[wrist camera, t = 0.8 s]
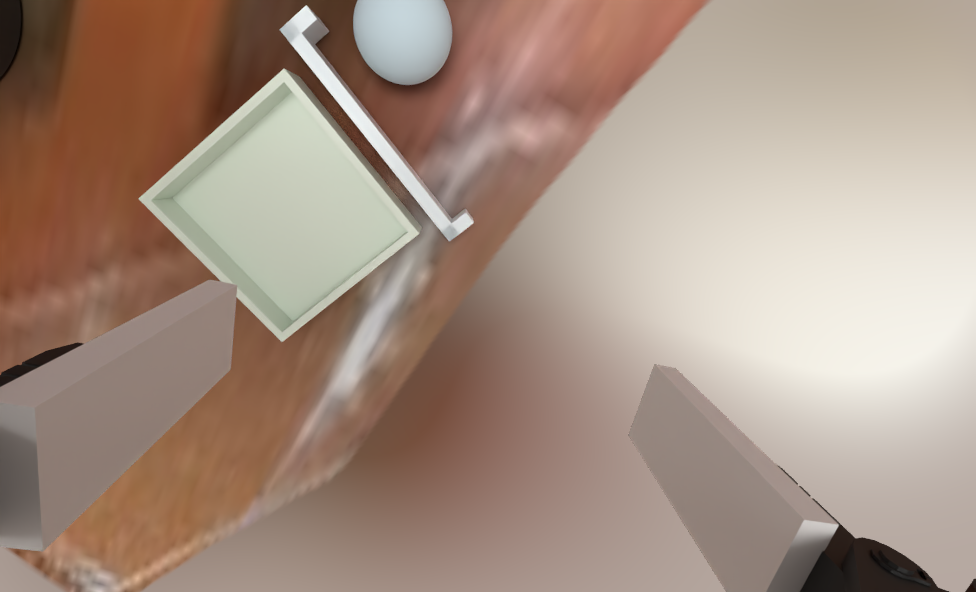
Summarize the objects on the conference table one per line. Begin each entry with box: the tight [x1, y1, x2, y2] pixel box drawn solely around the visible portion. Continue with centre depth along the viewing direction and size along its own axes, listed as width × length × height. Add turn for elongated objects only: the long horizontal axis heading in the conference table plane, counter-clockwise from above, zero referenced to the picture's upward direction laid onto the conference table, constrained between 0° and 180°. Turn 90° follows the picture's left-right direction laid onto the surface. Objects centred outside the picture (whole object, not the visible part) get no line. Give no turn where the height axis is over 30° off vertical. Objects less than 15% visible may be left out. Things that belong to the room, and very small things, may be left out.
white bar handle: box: [280, 5, 474, 242], centre depth 34 cm, size 18×2×3 cm, turn 37°
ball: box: [353, 0, 452, 85], centre depth 30 cm, size 6×6×6 cm
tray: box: [139, 69, 422, 342], centre depth 35 cm, size 14×14×3 cm
